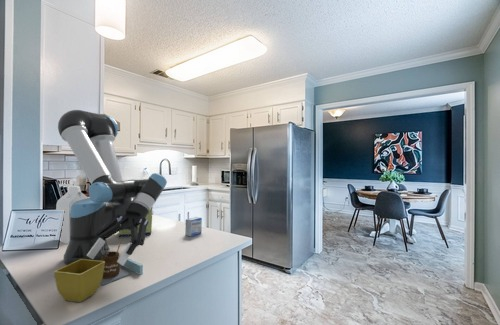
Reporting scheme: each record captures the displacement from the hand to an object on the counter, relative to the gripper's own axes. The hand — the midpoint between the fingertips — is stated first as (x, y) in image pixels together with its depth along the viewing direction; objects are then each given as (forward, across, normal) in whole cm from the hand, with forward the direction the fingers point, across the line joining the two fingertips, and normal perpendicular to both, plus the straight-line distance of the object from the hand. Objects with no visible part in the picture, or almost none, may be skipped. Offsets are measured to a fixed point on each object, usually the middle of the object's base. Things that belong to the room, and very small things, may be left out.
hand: (104, 260), depth 78 cm
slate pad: (+3, 0, -6) cm, 7 cm away
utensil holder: (+2, 0, -6) cm, 6 cm away
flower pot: (+11, -3, +2) cm, 12 cm away
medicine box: (-33, 0, -42) cm, 53 cm away
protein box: (-25, +29, -34) cm, 51 cm away
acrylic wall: (-2, -2, -11) cm, 11 cm away
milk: (-12, +50, -22) cm, 56 cm away
